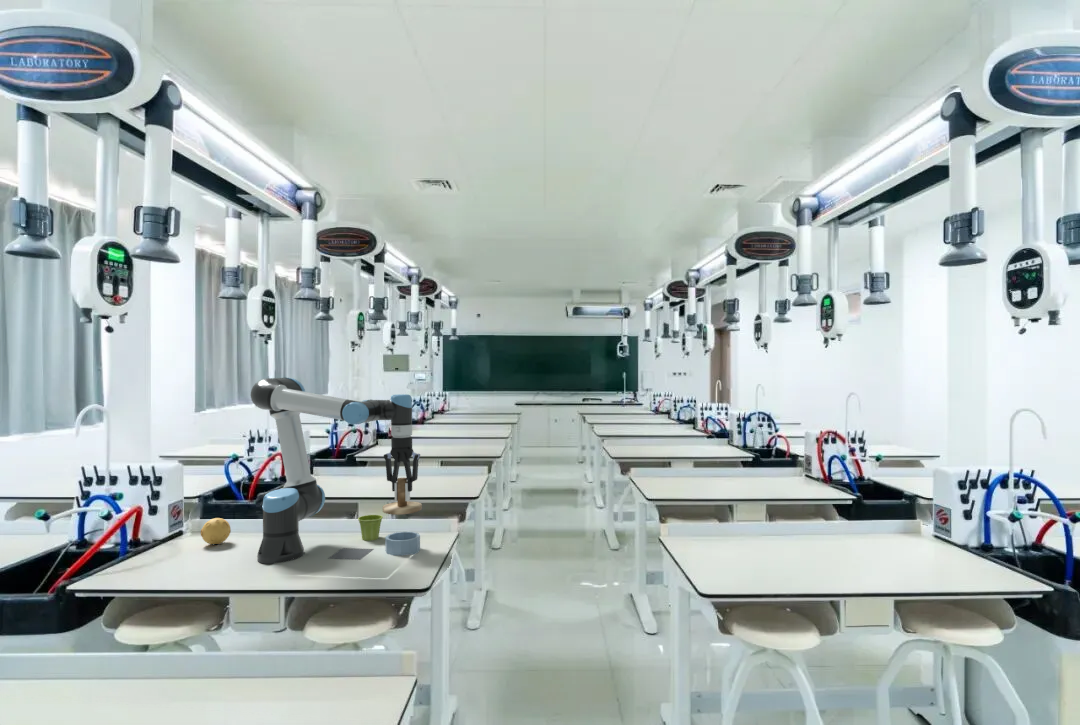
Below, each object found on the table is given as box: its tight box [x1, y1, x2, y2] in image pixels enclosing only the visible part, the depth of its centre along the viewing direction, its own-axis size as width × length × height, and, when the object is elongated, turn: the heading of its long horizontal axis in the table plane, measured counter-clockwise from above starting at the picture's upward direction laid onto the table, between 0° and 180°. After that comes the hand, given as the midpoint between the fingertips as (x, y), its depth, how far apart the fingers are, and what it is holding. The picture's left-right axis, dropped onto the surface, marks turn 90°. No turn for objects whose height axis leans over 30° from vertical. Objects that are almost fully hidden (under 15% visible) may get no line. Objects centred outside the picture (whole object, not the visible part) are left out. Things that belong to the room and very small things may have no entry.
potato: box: [200, 517, 232, 545], centre depth 221 cm, size 10×10×10 cm
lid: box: [382, 477, 423, 516], centre depth 211 cm, size 14×14×12 cm
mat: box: [327, 547, 375, 561], centre depth 207 cm, size 12×12×1 cm
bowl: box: [384, 531, 421, 556], centre depth 211 cm, size 12×12×6 cm
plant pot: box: [357, 514, 383, 542], centre depth 227 cm, size 9×9×9 cm
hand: (402, 500), depth 212 cm, fingers closed on lid, 3 cm apart
